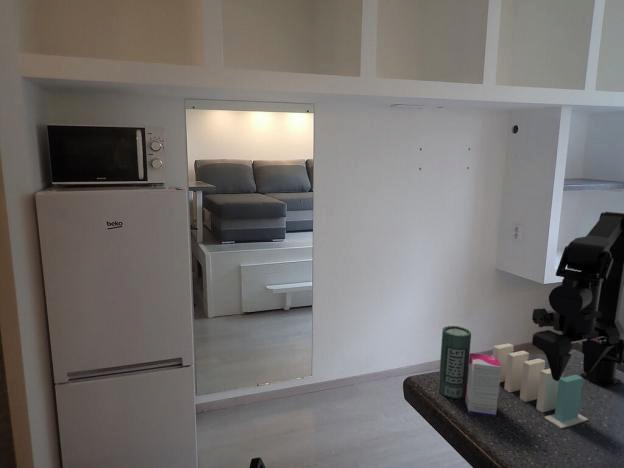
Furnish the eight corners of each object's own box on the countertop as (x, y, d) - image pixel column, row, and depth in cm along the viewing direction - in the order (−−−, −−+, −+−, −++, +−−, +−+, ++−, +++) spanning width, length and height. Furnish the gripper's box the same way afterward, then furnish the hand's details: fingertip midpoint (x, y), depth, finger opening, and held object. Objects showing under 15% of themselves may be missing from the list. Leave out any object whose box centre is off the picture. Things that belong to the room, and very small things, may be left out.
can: (464, 386, 107) (469, 327, 105) (466, 399, 101) (472, 337, 99) (438, 383, 109) (442, 324, 106) (439, 396, 103) (443, 334, 100)
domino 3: (519, 398, 102) (523, 361, 101) (535, 394, 104) (539, 358, 103) (525, 402, 101) (529, 364, 99) (541, 397, 103) (545, 361, 101)
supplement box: (497, 417, 95) (502, 367, 93) (467, 413, 96) (472, 363, 94) (491, 403, 100) (496, 355, 98) (464, 399, 101) (468, 352, 100)
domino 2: (504, 389, 106) (507, 353, 105) (519, 385, 108) (523, 350, 107) (509, 392, 105) (513, 356, 104) (525, 388, 107) (529, 353, 105)
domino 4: (536, 408, 98) (540, 370, 97) (552, 404, 100) (556, 366, 99) (542, 412, 97) (547, 373, 95) (558, 407, 99) (563, 370, 97)
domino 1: (490, 380, 111) (493, 346, 109) (505, 376, 113) (508, 343, 111) (495, 383, 109) (498, 348, 108) (510, 379, 111) (513, 345, 110)
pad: (570, 410, 98) (570, 409, 98) (587, 420, 94) (588, 419, 94) (544, 418, 95) (544, 416, 95) (561, 428, 91) (561, 427, 91)
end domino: (578, 417, 95) (583, 378, 93) (561, 422, 93) (566, 382, 91) (571, 413, 96) (576, 374, 95) (554, 418, 94) (559, 378, 93)
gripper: (575, 288, 101) (567, 353, 104) (514, 297, 94) (507, 366, 96) (626, 303, 91) (615, 375, 94) (561, 314, 84) (552, 391, 86)
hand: (571, 376), depth 93 cm, fingers open, 9 cm apart
